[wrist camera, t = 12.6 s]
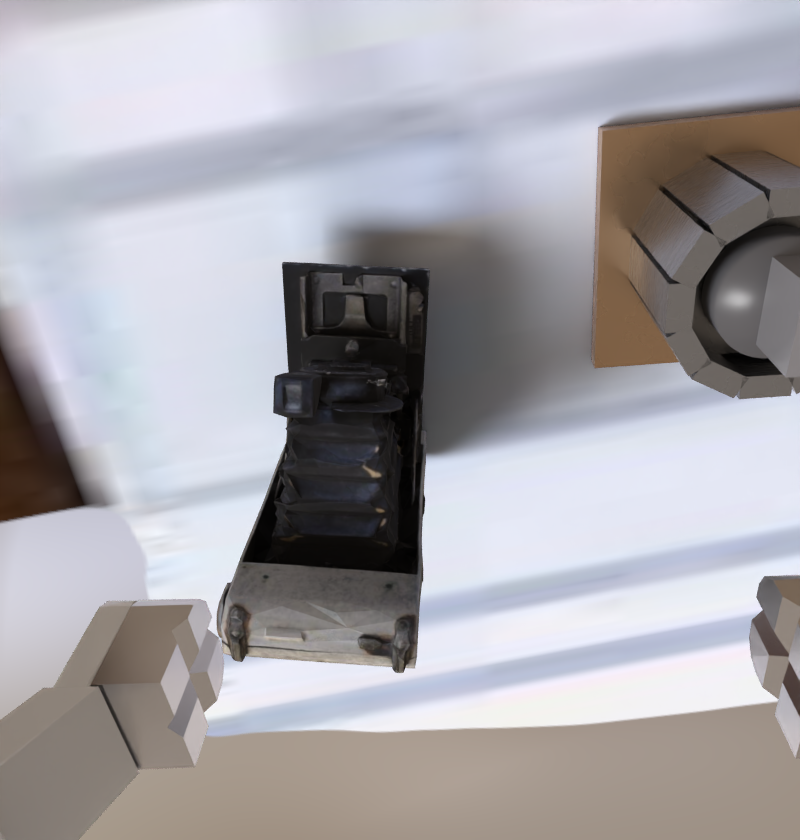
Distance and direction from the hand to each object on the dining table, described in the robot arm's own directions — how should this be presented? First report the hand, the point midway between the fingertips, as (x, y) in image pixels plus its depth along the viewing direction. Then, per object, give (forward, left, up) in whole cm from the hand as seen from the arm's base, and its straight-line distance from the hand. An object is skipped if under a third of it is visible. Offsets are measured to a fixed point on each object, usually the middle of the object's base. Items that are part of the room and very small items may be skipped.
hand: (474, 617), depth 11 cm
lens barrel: (+6, +15, -34) cm, 38 cm away
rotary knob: (+6, +15, -27) cm, 31 cm away
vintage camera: (+12, -7, -34) cm, 37 cm away
